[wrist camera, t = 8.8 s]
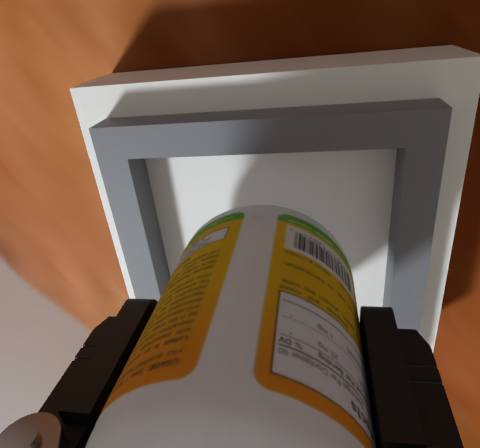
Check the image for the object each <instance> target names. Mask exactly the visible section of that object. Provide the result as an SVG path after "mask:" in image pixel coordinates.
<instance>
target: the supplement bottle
mask: <svg viewBox="0 0 480 448" xmlns="http://www.w3.org/2000/svg"><path fill="white" fill-rule="evenodd" d="M85 448H376V441H375V434H374V426H373V419H372V412H371V405H370V397H369V390H368V383H367V375H366V368H365V361H364V354H363V346H362V338H361V331H360V324H359V317H358V310H357V302H356V295H355V288H354V281H353V276H352V272H351V267H350V264H349V261H348V259H347V256H346V254H345V252H344V250H343V248H342V247H341V245H340V244H339V242H338V241H337V240H336V238H335V237H334V236H333V235H332V234H331V233H330V232H329V231H328V230H327V229H326V228H325V227H324V226H322V225H321V224H320V223H318V222H317V221H315V220H314V219H312V218H310V217H308V216H307V215H305V214H303V213H300V212H298V211H295V210H292V209H289V208H285V207H281V206H274V205H249V206H243V207H238V208H234V209H231V210H228V211H226V212H224V213H221V214H219V215H217V216H215V217H214V218H212V219H211V220H209V221H208V222H206V223H205V224H204V225H203V226H202V227H201V228H200V229H199V230H198V231H197V232H196V233H195V234H194V235H193V237H192V238H191V240H190V241H189V243H188V245H187V247H186V248H185V250H184V252H183V253H182V255H181V257H180V260H179V262H178V263H177V265H176V267H175V269H174V272H173V274H172V276H171V277H170V279H169V281H168V283H167V285H166V287H165V289H164V291H163V293H162V295H161V297H160V299H159V301H158V303H157V305H156V307H155V309H154V311H153V313H152V315H151V317H150V319H149V321H148V323H147V324H146V326H145V328H144V330H143V332H142V334H141V336H140V338H139V340H138V342H137V344H136V346H135V348H134V350H133V352H132V353H131V355H130V357H129V359H128V361H127V363H126V365H125V367H124V369H123V371H122V373H121V375H120V377H119V379H118V381H117V382H116V384H115V386H114V388H113V390H112V392H111V394H110V396H109V398H108V400H107V402H106V404H105V406H104V408H103V410H102V412H101V414H100V416H99V418H98V420H97V422H96V424H95V427H94V429H93V431H92V433H91V435H90V437H89V440H88V442H87V444H86V447H85Z"/></svg>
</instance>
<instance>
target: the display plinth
mask: <svg viewBox="0 0 480 448" xmlns="http://www.w3.org/2000/svg"><path fill="white" fill-rule="evenodd" d="M70 92H71V95H72V99H73V102H74V106H75V109H76V113H77V116H78V120H79V123H80V127H81V130H82V134H83V137H84V141H85V144H86V148H87V151H88V155H89V158H90V162H91V165H92V169H93V172H94V176H95V179H96V183H97V186H98V190H99V193H100V197H101V200H102V204H103V207H104V211H105V214H106V218H107V221H108V225H109V228H110V232H111V235H112V239H113V242H114V246H115V249H116V253H117V256H118V260H119V263H120V267H121V270H122V274H123V277H124V281H125V284H126V288H127V291H128V295H129V298H131V299H155V300H157V302H158V301H159V299H160V297H161V295H162V293H163V291H164V289H165V287H166V285H167V283H168V281H169V279H170V277H171V276H172V274H173V272H174V269H175V267H176V265H177V263H178V262H179V260H180V257H181V255H182V253H183V252H184V250H185V248H186V247H187V245H188V243H189V241H190V240H191V238H192V237H193V235H194V234H195V233H196V232H197V231H198V230H199V229H200V228H201V227H202V226H203V225H204V224H205V223H206V222H208V221H209V220H211V219H212V218H214V217H215V216H217V215H219V214H221V213H224V212H226V211H228V210H231V209H234V208H238V207H243V206H249V205H274V206H281V207H285V208H289V209H292V210H295V211H298V212H300V213H303V214H305V215H307V216H308V217H310V218H312V219H314V220H315V221H317V222H318V223H320V224H321V225H322V226H324V227H325V228H326V229H327V230H328V231H329V232H330V233H331V234H332V235H333V236H334V237H335V238H336V240H337V241H338V242H339V244H340V245H341V247H342V248H343V250H344V252H345V254H346V256H347V259H348V261H349V264H350V267H351V272H352V276H353V281H354V288H355V295H356V302H357V310H358V317H359V322H360V309H361V306H374V307H392V309H393V312H394V316H395V320H396V324H397V328H398V329H416V330H417V331H418V332H419V334H420V335H421V336H422V337H423V338H424V339H425V340H426V342H427V343H428V344H429V345H430V346H431V349H432V352H433V351H434V345H435V340H436V334H437V328H438V323H439V317H440V312H441V306H442V300H443V295H444V289H445V284H446V278H447V273H448V267H449V261H450V256H451V250H452V245H453V239H454V234H455V228H456V222H457V217H458V211H459V206H460V200H461V194H462V189H463V183H464V178H465V172H466V167H467V161H468V155H469V150H470V144H471V139H472V133H473V128H474V122H475V116H476V111H477V105H478V100H479V94H480V54H479V53H476V52H473V51H470V50H467V49H464V48H461V47H458V46H455V45H444V46H432V47H420V48H408V49H396V50H384V51H372V52H360V53H348V54H336V55H324V56H312V57H300V58H288V59H276V60H264V61H252V62H240V63H228V64H216V65H204V66H192V67H180V68H168V69H156V70H144V71H132V72H120V73H110V74H108V75H105V76H102V77H99V78H97V79H94V80H91V81H88V82H85V83H83V84H80V85H77V86H74V87H72V88H70Z"/></svg>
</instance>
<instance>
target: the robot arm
mask: <svg viewBox="0 0 480 448" xmlns="http://www.w3.org/2000/svg"><path fill="white" fill-rule="evenodd" d="M157 303H158V302H157V300H155V299H131V298H130V299H128V300H127V301H126V302H125V303H124V305H123V306H122V308H121V310H120V311H119V313H118V314H117V316H116V317H110V316H109V317H108V318H107V319H106V320H104V321H103V322H102V323H101V324H99V325H98V326H97V327H96V328H95V329H93V331H92V332H91V334H90V335H89V337H88V338H87V340H86V341H85V343H84V344H83V348H81V349H80V350H79V352H78V353H77V355H76V356H75V360H74V361H72V363H71V364H70V365H69V367H68V369H67V370H66V371H65V373H64V375H63V376H62V378H61V379H60V381H59V382H58V383H57V385H56V386H55V388H54V390H53V391H52V392H51V394H50V395H49V397H48V398H47V400H46V402H45V403H44V404H43V406H42V407H41V409H40V410H39V412H38V413H33V414H30V415H27V416H24V417H22V418H20V419H18V420H17V421H15V422H14V423H12V424H11V425H9V426H8V427H7V428H6V429H5V430H4V431H3V432H2V433H1V434H0V448H85V447H86V444H87V442H88V440H89V437H90V435H91V433H92V431H93V429H94V427H95V424H96V422H97V420H98V418H99V416H100V414H101V412H102V410H103V408H104V406H105V404H106V402H107V400H108V398H109V396H110V394H111V392H112V390H113V388H114V386H115V384H116V382H117V381H118V379H119V377H120V375H121V373H122V371H123V369H124V367H125V365H126V363H127V361H128V359H129V357H130V355H131V353H132V352H133V350H134V348H135V346H136V344H137V342H138V340H139V338H140V336H141V334H142V332H143V330H144V328H145V326H146V324H147V323H148V321H149V319H150V317H151V315H152V313H153V311H154V309H155V307H156V305H157ZM359 324H360V331H361V338H362V346H363V354H364V361H365V368H366V375H367V383H368V390H369V397H370V405H371V412H372V419H373V426H374V434H375V441H376V448H464V447H463V444H462V441H461V438H460V435H459V432H458V429H457V426H456V423H455V420H454V417H453V413H452V410H451V407H450V404H449V401H448V398H447V395H446V392H445V389H444V386H443V385H442V380H441V377H440V374H439V371H438V369H437V365H436V362H435V359H434V355H433V352H432V349H431V346H430V345H429V344H428V343H427V342H426V340H425V339H424V338H423V337H422V336H421V335H420V334H419V332H418V331H417V330H416V329H398V328H397V324H396V320H395V316H394V312H393V309H392V307H374V306H361V309H360V322H359Z"/></svg>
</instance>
